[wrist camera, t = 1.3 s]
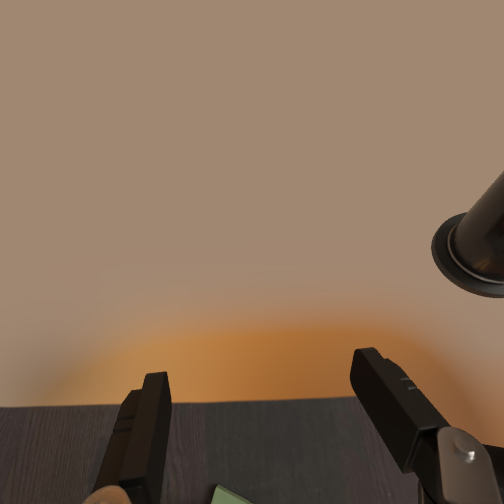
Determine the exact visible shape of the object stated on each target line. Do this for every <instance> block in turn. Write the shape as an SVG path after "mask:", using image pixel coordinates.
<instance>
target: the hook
mask: <svg viewBox="0 0 504 504" xmlns="http://www.w3.org/2000/svg"><path fill="white" fill-rule="evenodd" d="M211 504H253V503H251V502H250V501H248V500H246V499H244V498H242V497H240V496H239V495H237V494H235V493H233V492H231V491H230V490H228V489H226V488H224V487H222V486H220V485H218V486H217V487H216V489H215V492H214V495H213V499H212V502H211Z"/></svg>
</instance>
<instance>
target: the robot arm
mask: <svg viewBox="0 0 504 504" xmlns="http://www.w3.org/2000/svg"><path fill="white" fill-rule="evenodd" d="M446 249H447V253H448V255H449V257H450V259H451V260H452V262H453V263H454V264H455V265H456V266H457V267H458V268H459V269H460V270H461V271H462V272H464V273H465V274H467V275H468V276H470V277H472V278H474V279H476V280H479V281H482V282H485V283H490V284H497V285H504V171H503V172H502V174H501V175H500V176H499V177H498V178H497V179H496V180H495V182H494V183H493V184H492V185H491V186H490V187H489V188H488V190H487V191H486V192H485V193H484V194H483V195H482V197H481V198H480V199H479V200H478V201H477V202H476V203H475V205H474V206H473V207H472V208H471V209H470V210H469V211H468V212H467V214H466V215H465V216H464V217H463V218H462V219H461V220H460V222H459V223H457V224H456V225H455V226H454V227H453V228H452V229H451V231H450V232H449V234H448V236H447V239H446ZM350 381H351V385H352V388H353V390H354V392H355V394H356V395H357V397H358V399H359V400H360V402H361V404H362V405H363V407H364V409H365V411H366V412H367V414H368V416H369V417H370V419H371V421H372V422H373V424H374V426H375V428H376V429H377V431H378V433H379V434H380V436H381V438H382V439H383V441H384V443H385V444H386V446H387V448H388V450H389V451H390V453H391V455H392V456H393V458H394V460H395V461H396V463H397V465H398V467H399V468H400V470H401V472H402V473H403V474H405V473H410V472H415V473H416V475H417V477H418V478H419V481H418V504H504V448H501V447H496V446H490V445H484V444H481V443H480V442H479V441H478V440H477V439H475V438H474V437H473V436H472V435H470V434H468V433H467V432H465V431H463V430H461V429H458V428H455V427H451V426H450V425H449V423H448V422H447V421H446V420H445V419H444V418H443V416H442V415H441V414H440V413H439V412H438V411H437V409H436V408H435V407H434V406H433V405H432V404H431V403H430V401H429V400H428V399H427V398H426V397H425V396H424V395H423V393H422V392H421V391H420V390H419V389H417V386H416V385H415V384H414V383H413V382H412V380H410V379H409V377H408V376H407V375H406V373H405V372H404V371H403V370H402V369H401V367H399V366H398V365H397V364H395V363H393V362H392V361H391V360H389V359H384V358H383V357H382V356H381V355H380V353H379V352H378V351H377V350H376V349H375V348H373V347H370V348H362V349H356V350H355V351H354V356H353V361H352V367H351V372H350ZM171 411H172V402H171V394H170V388H169V382H168V376H167V372H158V373H149V374H146V376H145V379H144V383H143V387H142V389H139V390H132V391H131V392H130V393H129V394H128V396H127V397H126V399H125V400H124V401H123V402H122V404H121V407H120V410H119V413H118V416H117V421H116V422H115V425H114V428H113V434H112V435H111V438H110V441H109V444H108V447H107V450H106V453H105V456H104V459H103V462H102V465H101V468H100V471H99V474H98V478H97V481H96V483H95V486H94V488H93V490H92V492H91V494H90V495H89V497H88V498H87V499H86V500H85V501H84V502H83V503H82V504H160V497H161V489H162V481H163V474H164V466H165V458H166V451H167V443H168V436H169V428H170V420H171Z"/></svg>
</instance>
